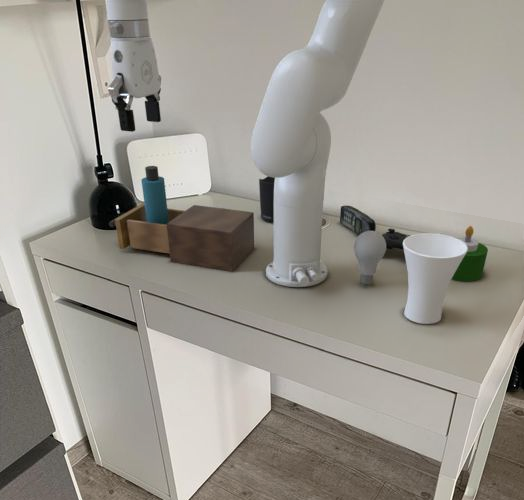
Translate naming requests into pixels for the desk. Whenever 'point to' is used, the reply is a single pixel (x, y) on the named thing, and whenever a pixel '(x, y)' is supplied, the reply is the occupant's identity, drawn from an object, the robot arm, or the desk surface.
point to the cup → (430, 273)
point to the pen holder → (267, 198)
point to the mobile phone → (356, 220)
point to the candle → (471, 259)
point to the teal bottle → (154, 196)
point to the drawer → (143, 230)
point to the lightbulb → (369, 254)
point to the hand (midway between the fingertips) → (141, 126)
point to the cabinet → (211, 237)
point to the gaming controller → (394, 239)
